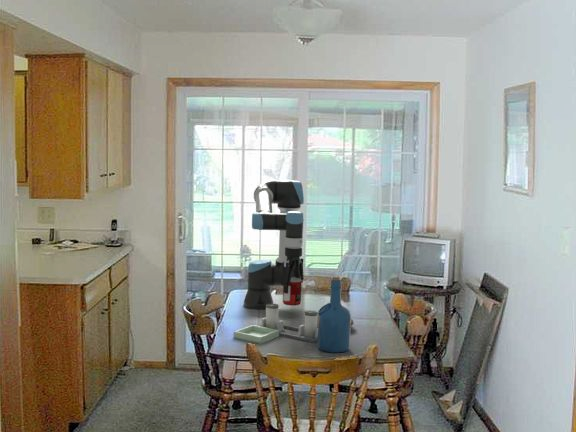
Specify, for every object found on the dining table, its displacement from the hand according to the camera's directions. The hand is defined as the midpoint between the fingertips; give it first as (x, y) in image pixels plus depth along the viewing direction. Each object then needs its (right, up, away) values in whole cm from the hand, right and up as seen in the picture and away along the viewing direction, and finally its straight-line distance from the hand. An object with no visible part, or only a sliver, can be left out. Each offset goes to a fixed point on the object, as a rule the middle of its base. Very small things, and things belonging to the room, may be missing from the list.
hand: (291, 298), depth 302 cm
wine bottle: (+17, -18, -20) cm, 32 cm away
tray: (-15, -16, -7) cm, 23 cm away
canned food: (0, -2, 0) cm, 2 cm away
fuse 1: (-9, -14, +7) cm, 18 cm away
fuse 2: (+8, -16, -4) cm, 18 cm away
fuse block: (-1, -15, +1) cm, 15 cm away
